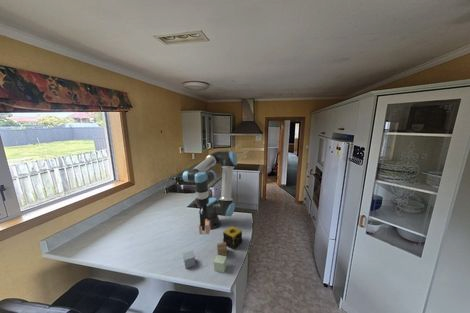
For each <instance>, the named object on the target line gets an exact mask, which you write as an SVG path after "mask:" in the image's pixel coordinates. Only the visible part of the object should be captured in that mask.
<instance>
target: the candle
mask: <svg viewBox="0 0 470 313" xmlns="http://www.w3.org/2000/svg"><path fill="white" fill-rule="evenodd" d="M222 235H223V239H222V241H223V242H222V243H224V242H226V246H227V247H228V248H229V249H231V250H235V249H236V248H238V247H240V245H241V244H242V243H243V230H242V229H240V228H237V227H235V226H232V225H231V226H230V227H229V228H227V229H225V230H223V232H222Z"/></svg>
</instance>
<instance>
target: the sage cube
mask: <svg viewBox="0 0 470 313" xmlns="http://www.w3.org/2000/svg"><path fill="white" fill-rule="evenodd" d="M227 266H228V255H227V256H222V255H218V254H216V257H215V259H214V261H213V269H214V271H215V272H218V273H225V271H226V268H227Z"/></svg>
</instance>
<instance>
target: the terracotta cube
mask: <svg viewBox="0 0 470 313" xmlns="http://www.w3.org/2000/svg"><path fill="white" fill-rule="evenodd" d="M205 224H206V234H205V235H210V231H211V229H210V220H206V221H205ZM198 232H199V233H198V234H199V235H202V229H201V226H200V223H199V225H198Z"/></svg>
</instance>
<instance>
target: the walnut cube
mask: <svg viewBox="0 0 470 313" xmlns="http://www.w3.org/2000/svg"><path fill="white" fill-rule="evenodd" d="M216 247H217V248H216V249H217V251H216V252H217V255H222V256H227V257H228V248H227V246H226V242H224V243H223V242H219V243H216Z"/></svg>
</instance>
